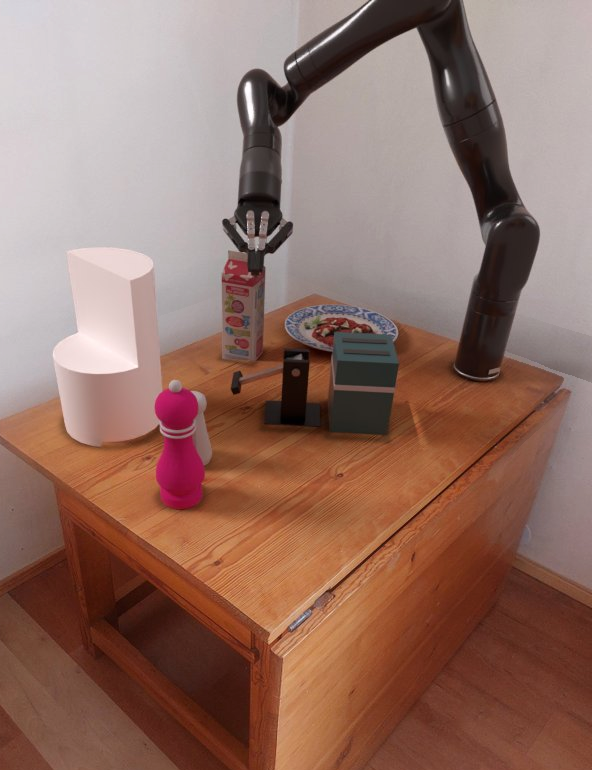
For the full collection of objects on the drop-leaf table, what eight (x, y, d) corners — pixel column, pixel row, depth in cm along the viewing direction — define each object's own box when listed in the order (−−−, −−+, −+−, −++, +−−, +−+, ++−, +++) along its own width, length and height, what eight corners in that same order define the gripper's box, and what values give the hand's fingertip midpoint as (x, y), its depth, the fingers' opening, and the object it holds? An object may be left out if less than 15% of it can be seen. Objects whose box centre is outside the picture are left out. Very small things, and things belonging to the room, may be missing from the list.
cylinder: (127, 385, 123) (111, 240, 107) (184, 421, 114) (176, 267, 98) (46, 418, 113) (15, 262, 97) (101, 459, 103) (77, 295, 87)
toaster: (328, 437, 111) (336, 360, 103) (325, 404, 121) (333, 330, 112) (387, 440, 111) (400, 363, 103) (380, 406, 121) (392, 333, 112)
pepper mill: (213, 488, 99) (210, 373, 87) (193, 516, 93) (188, 398, 82) (171, 477, 100) (163, 364, 89) (149, 504, 95) (137, 387, 83)
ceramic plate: (418, 337, 147) (421, 325, 145) (349, 373, 131) (351, 360, 129) (332, 304, 161) (333, 293, 159) (261, 333, 145) (261, 321, 144)
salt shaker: (170, 469, 102) (165, 399, 95) (187, 450, 106) (183, 382, 99) (202, 479, 100) (200, 408, 93) (218, 459, 105) (217, 390, 97)
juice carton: (234, 346, 139) (234, 245, 127) (262, 352, 138) (266, 250, 125) (222, 359, 134) (221, 255, 122) (251, 365, 132) (253, 260, 120)
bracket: (264, 429, 113) (266, 364, 105) (266, 405, 119) (268, 343, 112) (320, 432, 113) (326, 367, 105) (319, 408, 119) (325, 346, 112)
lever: (234, 397, 110) (229, 386, 109) (237, 381, 115) (232, 369, 114) (306, 376, 108) (301, 364, 106) (305, 360, 112) (301, 348, 111)
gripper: (221, 167, 109) (214, 262, 106) (298, 170, 109) (294, 265, 106) (224, 192, 116) (218, 281, 113) (296, 195, 116) (292, 284, 113)
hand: (255, 273), depth 110 cm, fingers closed
